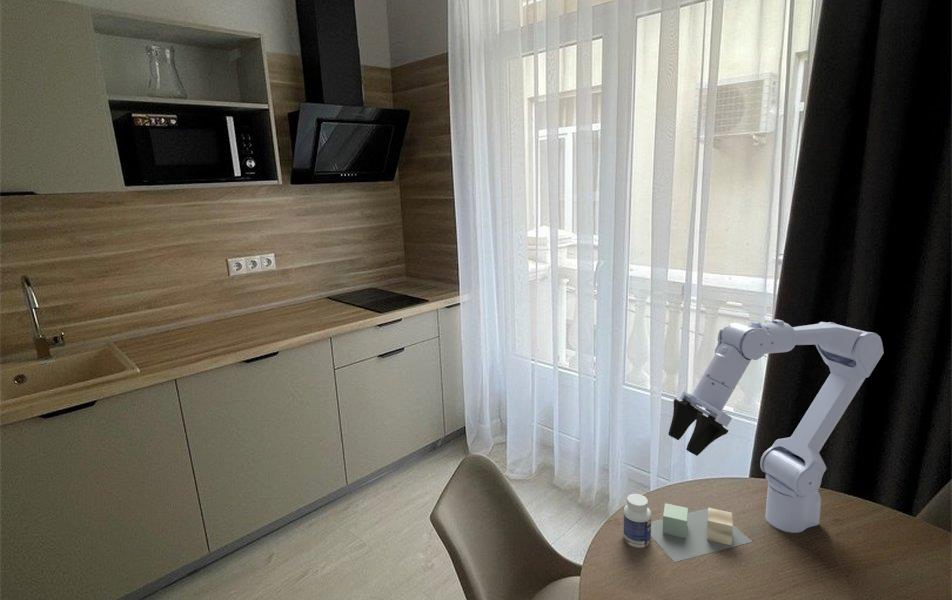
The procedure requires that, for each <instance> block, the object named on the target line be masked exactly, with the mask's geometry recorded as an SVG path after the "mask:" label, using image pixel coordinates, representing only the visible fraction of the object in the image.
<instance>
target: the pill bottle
mask: <svg viewBox="0 0 952 600" xmlns="http://www.w3.org/2000/svg"><path fill="white" fill-rule="evenodd" d="M626 498H627V499H626V504H625V506H624V508H623V517H622V518H623V519H622V520H623V527H622V530H623V533H622V535H623V536H622V537H623V538H622V539H623V541H625V542H626V544H628V545H629V546H631V547H635V548H646V547H647V546H649V545H650V544H651V538H652V537H651V522H652V511H651V509H650V508H649V501H648V498H647V497H646V496H644V495H642V494H639V493H632V494H631V493H630V494H629V495H628V496H627V497H626Z"/></svg>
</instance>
